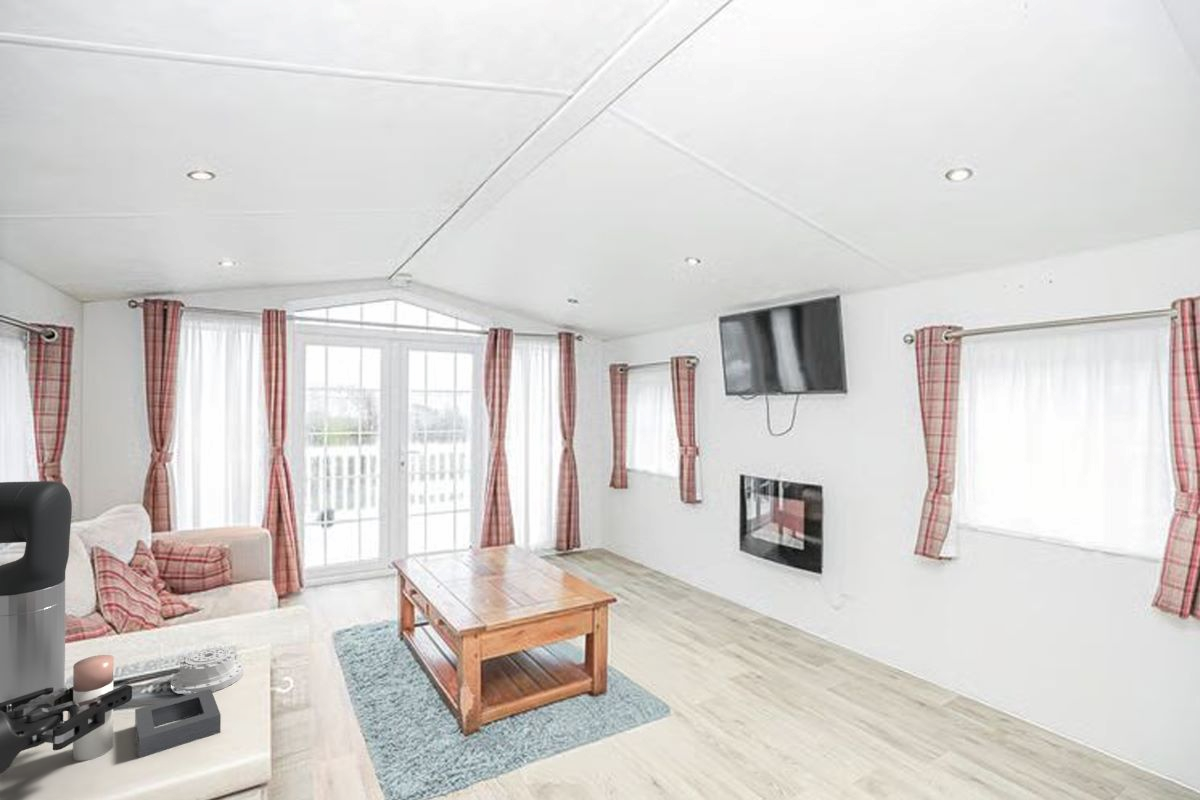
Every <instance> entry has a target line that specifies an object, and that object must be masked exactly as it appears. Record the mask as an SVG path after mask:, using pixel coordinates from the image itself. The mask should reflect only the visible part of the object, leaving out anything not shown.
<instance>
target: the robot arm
mask: <svg viewBox="0 0 1200 800" xmlns="http://www.w3.org/2000/svg"><path fill="white" fill-rule="evenodd" d="M72 505H73V504H72V496H71V493H70V491H69V489H68V487H67V486H66V485H65V484H64V483H62V482H60V481H52V480H50V481H49V480H48V481H46V480H45V481H41V480H40V481H38V480H36V481H35V480H34V481H3V482H0V544H13V543H15V544H16V543H25V548H24V553H23V556H22V557H19V559H16V560H14V561H11V562H6V563H3V564H1V565H0V774H2V773H4V772H5V771H7V770H8V769H9V768H10V767H11V765H12V764H13V762H14V761H15V759H16V758H17V756H18V755H19V754H20V753H21V752H24V751H26V750H29V749H33V748H36V747H38V746H41V745H43V744H45V743H48V744H50V743H51V744H52V750H53V751H59V750H63V749H64V748H66V747H68V746H69V745H71V744H73V742H75V741H76V740H78V739H80V738H81V737H83V736H85V735H86V734H88V733H90V732H91V731H93V730H95V729H96V728H98V727H100V726H101V725H103V724H104V723H105V712H108V711H110V710H112V709H113V710H115V709H116V708H118V707H120V706H124V704H126V703H129V702H130V701H131V700H132V698H133V686H132V685H129V684H123V685H121V686H120V687H117V688H115V689H114V688H113V690H112V691H110V692H107V693H105V694H103V695H100V696H98V697H97V698H93V699H90V700H87V701H83V702H80V703H76V702H75V701H73V686H71V687H69V688H68V687H65V684H66V682H65V681H66V680H65V678H66V677H65V676H66V675H65V673H66V666H65V665H66V570H67V569H66V568H67V565H68V562H69V561H68V560H69V556H70V540H71V537H70V535H71V525H72V513H73V511H72V510H73V506H72ZM88 707H89V708H88ZM85 708H88V709H86V710H84V711H83V712H81V713H79V714H77V713H78V711H79V710H82V709H85ZM65 712H67V720H64V713H65ZM89 722H90V723H89ZM88 723H89V724H88Z"/></svg>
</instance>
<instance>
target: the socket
mask: <svg viewBox="0 0 1200 800" xmlns="http://www.w3.org/2000/svg"><path fill="white" fill-rule="evenodd" d="M134 710H135V711H134V715H135V716H134V721H135V722H134V729H135V736H136V737H135V738H136V744H137V752H138V758H140V759H141V758H143V757H146V756H149V755H152V754H155V753H158V752H161V751H166V750H169V749H172V748H175V747H177V746H181V745H184V744H187V743H191V742H195V741H197V740H201V739H203V738H207V737H210V736H212V735H213V736H214V735H215V734H219V733H221V726H222V725H221V717H222V715H221V712H220V710H219V707H218V705H217V702H216V699H215V696H214V694H213V692H212V691H211V689H208V690H204V691H201V692H197V693H193V694H190V695H181V696H180V697H175V698H171V699H168V700H164V701H161V702H157V703H153V704H149V705H145V706H142V707H138V708H135V709H134Z"/></svg>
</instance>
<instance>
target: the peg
mask: <svg viewBox="0 0 1200 800" xmlns="http://www.w3.org/2000/svg"><path fill="white" fill-rule="evenodd" d="M114 663H115V662H114V656H113V655H111V654H97V655H93V656H89V657H86V658H83V659H80V660H79V661H77V662H75V663H74V664H73V672H72V673H73V675H72V676H73V677H72V679H73V681H72V682H73V685H72V687H73V701H75V702H76V703H80V702H83V701H87V700H90V699H93V698H97V697H98V696H100V695H103V694H105V693H107V692H110V691H112V690H114ZM88 708H89V707H88ZM88 708H85V709H82V710H79V711H78V713H77V714H79V713H81V712H83V711H84V710H86V709H88ZM89 723H90V722H89ZM89 723H88V724H89ZM113 746H114V709H112V710H110V711H108V712H105V723H104V724H103V725H101V726H100V727H98V728H96V729H95V730H93V731H91V732H90V733H88V734H86V735H85V736H83V737H81V738H80V739H78V740H76V741H75V742H73V743H72V759H73V760H74V761H79V762H81V761H82V762H83V761H90V760H93V759H96V758H99V757H101V756H103V755H105V754H107V753H108V752H110V751H111V750H112V749H113Z"/></svg>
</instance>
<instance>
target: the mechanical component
mask: <svg viewBox="0 0 1200 800" xmlns="http://www.w3.org/2000/svg"><path fill="white" fill-rule="evenodd" d="M235 652H236V651H235V650H233V649H232V647H231V646H229V647H228V646H222V645H219V646H217V647H216V646H215V647H210V646H209V647H208V646H207V647H206V648H204V649H201V650H194V651H193V652H190V653H188V654H187V655H184V657H183V659H182V660H181V661H179V671H178V672H177V673H175V674H174V675H173V676H172V677H171V679H170V686H171V685H172V686H174V687H175V688H178V689H180V690H185V691H191V692H196V693H197V692H201V691H204V690H208V689H211V691H212V693H213V692H216V691H219V690H223V689H225V688H227V687H229V686H231V685H233V684H235V683H236V682H237V681H239V680H240V679H241V678H242V677H243V675H244V665H243V663H242V662H241V661H239V660H237V659H236V655H235V654H236V653H235Z"/></svg>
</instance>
